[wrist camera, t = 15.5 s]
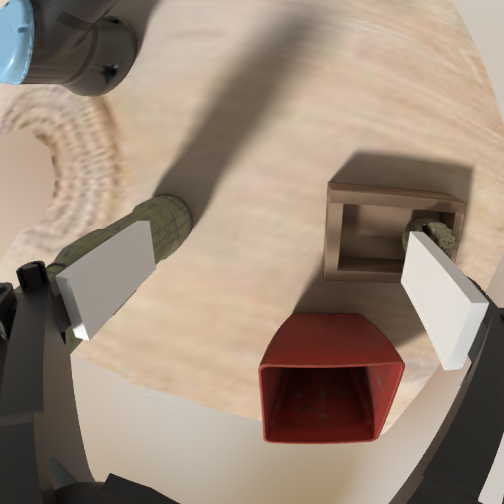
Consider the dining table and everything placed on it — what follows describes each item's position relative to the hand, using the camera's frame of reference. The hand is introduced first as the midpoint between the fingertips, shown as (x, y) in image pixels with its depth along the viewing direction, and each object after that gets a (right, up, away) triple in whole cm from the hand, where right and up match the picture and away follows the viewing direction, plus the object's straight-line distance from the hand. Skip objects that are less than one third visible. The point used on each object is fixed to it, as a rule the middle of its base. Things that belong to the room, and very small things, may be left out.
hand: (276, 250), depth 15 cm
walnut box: (+20, +4, +29) cm, 35 cm away
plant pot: (+12, -16, +39) cm, 44 cm away
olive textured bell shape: (+24, +3, +27) cm, 36 cm away
